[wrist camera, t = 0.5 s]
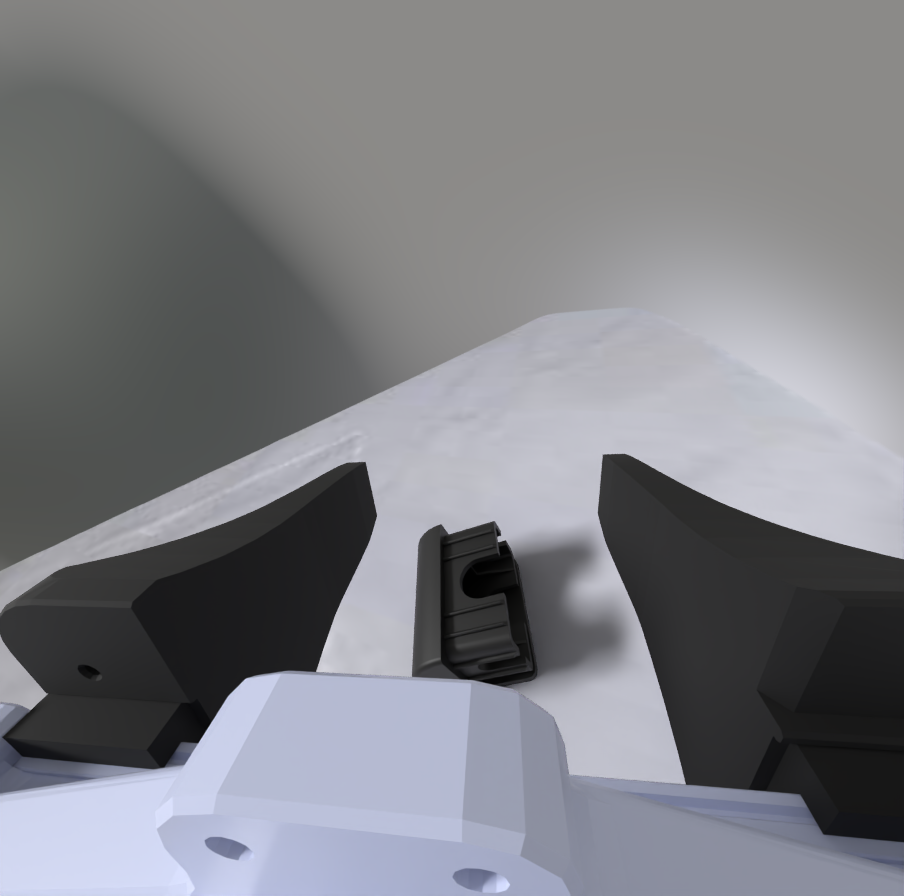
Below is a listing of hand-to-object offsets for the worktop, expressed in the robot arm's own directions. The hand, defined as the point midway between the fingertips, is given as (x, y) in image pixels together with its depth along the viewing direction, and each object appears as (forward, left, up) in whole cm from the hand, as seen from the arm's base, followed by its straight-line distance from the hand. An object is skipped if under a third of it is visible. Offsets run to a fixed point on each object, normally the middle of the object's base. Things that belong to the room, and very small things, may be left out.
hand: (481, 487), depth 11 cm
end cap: (+6, +6, -20) cm, 22 cm away
